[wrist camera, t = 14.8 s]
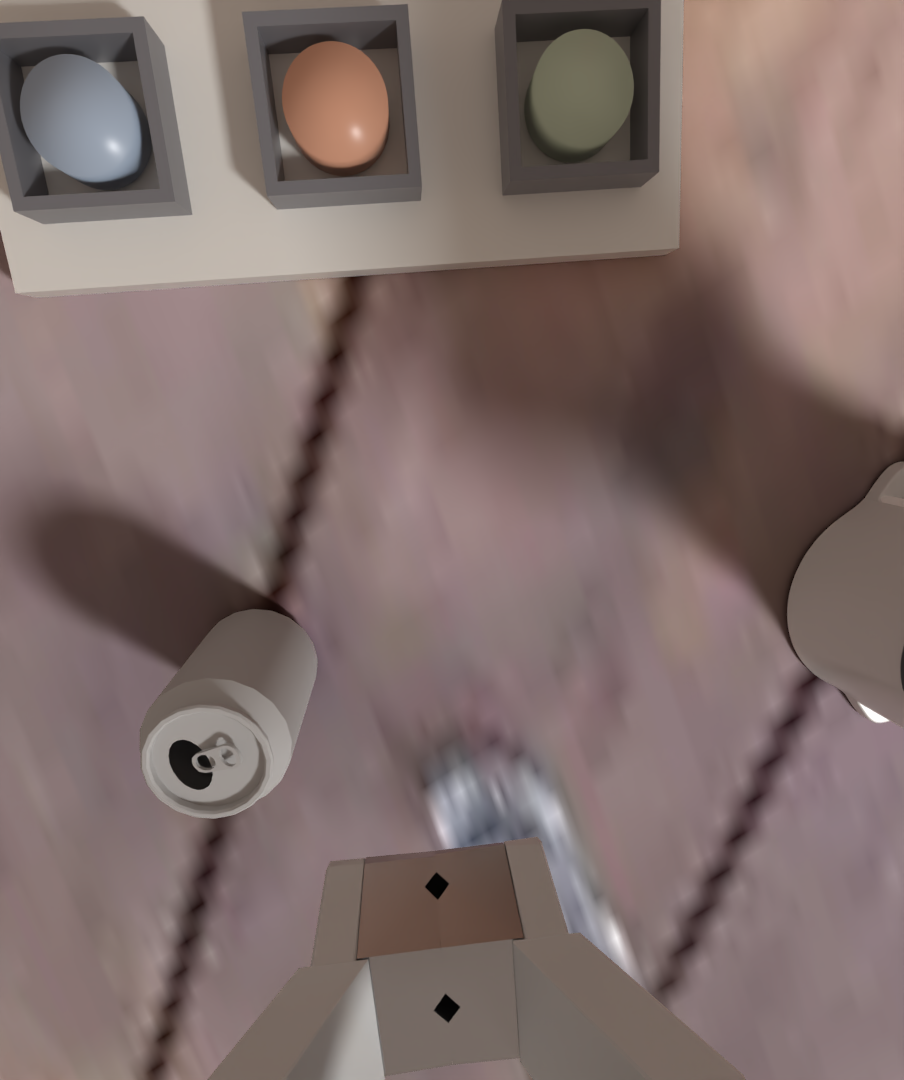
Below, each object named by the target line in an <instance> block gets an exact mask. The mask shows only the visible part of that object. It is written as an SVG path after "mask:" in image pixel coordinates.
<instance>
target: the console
mask: <svg viewBox="0 0 904 1080" xmlns="http://www.w3.org/2000/svg"><path fill="white" fill-rule="evenodd" d="M683 23H684V0H0V231H1V235H2V239H3V243H4V248H5V252H6V256H7V260H8V264H9V268H10V272H11V277H12V281H13V285H14V289H15V293H17V294H22V295H26V296H31V297H35V298H44V297H59V296H74V295H88V294H103V293H118V292H132V291H147V290H162V289H176V288H191V287H206V286H220V285H235V284H250V283H264V282H279V281H294V280H308V279H323V278H338V277H352V276H367V275H382V274H396V273H411V272H426V271H440V270H455V269H470V268H484V267H499V266H514V265H528V264H543V263H558V262H572V261H587V260H602V259H616V258H631V257H646V256H660V255H666V254H668V253H670V252H672V251H674V250H677V249H679V235H680V182H681V129H682V76H683ZM578 29H591V30H596V31H599V32H602V33H604V34H606V35H608V36H609V37H611V38H612V39H613V40H614V41H615V42H616V43H617V44H618V45H619V46H620V47H621V48H622V50H623V51H624V53H625V54H626V56H627V58H628V60H629V63H630V66H631V69H632V73H633V79H634V94H633V100H632V104H631V108H630V111H629V113H628V116H627V118H626V119H625V121H624V123H623V124H622V126H621V127H620V129H619V130H618V131H617V132H616V133H615V134H614V136H613V137H612V138H611V139H610V140H609V142H608V143H607V144H606V145H605V146H604V147H603V148H602V149H601V150H600V151H599V152H598V153H597V154H595V155H594V156H592V157H591V158H588V159H586V160H583V161H580V162H573V163H568V162H561V161H558V160H555V159H553V158H551V157H549V156H547V155H546V154H545V153H543V152H542V151H541V150H540V149H539V148H538V147H537V145H536V144H535V143H534V141H533V140H532V138H531V136H530V134H529V132H528V129H527V126H526V121H525V114H524V103H525V96H526V92H527V89H528V86H529V84H530V81H531V79H532V76H533V74H534V71H535V69H536V67H537V64H538V62H539V60H540V58H541V56H542V54H543V53H544V51H545V50H546V49H547V47H548V46H549V45H550V44H551V43H552V42H553V41H554V40H556V39H557V38H558V37H560V36H561V35H563V34H565V33H567V32H570V31H573V30H578ZM325 41H337V42H343V43H346V44H349V45H351V46H353V47H355V48H357V49H359V50H360V51H362V52H363V53H364V54H365V55H366V56H368V57H369V58H370V60H371V61H372V62H373V63H374V64H375V66H376V67H377V69H378V70H379V72H380V74H381V76H382V78H383V81H384V83H385V87H386V91H387V96H388V107H389V135H388V140H387V143H386V146H385V148H384V150H383V152H382V154H381V155H380V157H379V158H378V159H377V161H376V162H375V163H374V164H373V165H372V166H370V167H369V168H368V169H366V170H365V171H363V172H360V173H358V174H355V175H350V176H337V175H332V174H329V173H326V172H324V171H322V170H320V169H318V168H317V167H315V166H314V165H313V164H311V163H310V162H309V161H308V160H307V159H306V158H305V156H304V155H303V154H302V152H301V151H300V149H299V147H298V146H297V144H296V141H295V139H294V137H293V135H292V133H291V131H290V128H289V126H288V124H287V122H286V119H285V115H284V111H283V106H282V89H283V83H284V79H285V76H286V73H287V71H288V69H289V67H290V65H291V63H292V62H293V60H294V59H295V58H296V57H297V56H298V55H299V54H300V53H301V52H302V51H303V50H305V49H306V48H308V47H310V46H312V45H314V44H317V43H320V42H325ZM60 54H74V55H79V56H83V57H86V58H88V59H90V60H93V61H94V62H96V63H98V64H99V65H101V66H102V67H103V68H105V69H106V70H107V71H108V72H109V73H110V74H111V75H112V76H113V77H114V78H115V79H116V80H117V81H118V82H119V83H120V84H121V85H122V86H123V87H124V88H125V89H126V90H127V91H128V92H129V93H130V94H131V95H132V96H133V97H134V99H135V100H136V101H137V102H138V104H139V105H140V107H141V108H142V110H143V112H144V114H145V116H146V118H147V121H148V124H149V128H150V134H151V153H150V157H149V161H148V163H147V165H146V167H145V169H144V171H143V172H142V174H141V175H140V176H139V177H138V178H137V179H136V180H135V181H134V182H132V183H131V184H129V185H127V186H125V187H123V188H120V189H115V190H100V189H95V188H91V187H89V186H86V185H84V184H82V183H81V182H79V181H77V180H75V179H74V178H72V177H71V176H69V175H67V174H66V173H64V172H62V171H61V170H59V169H57V168H56V167H54V166H53V165H51V164H50V163H49V162H47V161H46V160H45V159H44V158H43V157H42V156H41V155H40V154H39V153H38V152H37V150H36V149H35V148H34V146H33V145H32V143H31V142H30V140H29V138H28V136H27V134H26V132H25V129H24V127H23V123H22V119H21V113H20V96H21V91H22V87H23V84H24V82H25V80H26V78H27V76H28V74H29V73H30V72H31V70H32V69H33V68H34V67H35V66H36V65H37V64H38V63H40V62H41V61H43V60H44V59H47V58H49V57H51V56H55V55H60Z"/></svg>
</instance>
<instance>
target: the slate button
mask: <svg viewBox="0 0 904 1080" xmlns="http://www.w3.org/2000/svg"><path fill="white" fill-rule="evenodd" d="M20 113H21V119H22V123H23V127H24V129H25V132H26V134H27V136H28V138H29V140H30V142H31V143H32V145H33V146H34V148H35V149H36V150H37V152H38V153H39V154H40V155H41V156H42V157H43V158H44V159H45V160H46V161H47V162H49V163H50V164H51V165H53V166H54V167H56V168H57V169H59V170H61V171H62V172H64V173H66V174H67V175H69V176H71V177H72V178H74V179H75V180H77V181H79V182H81V183H82V184H84V185H86V186H89V187H91V188H95V189H100V190H115V189H120V188H123V187H125V186H127V185H129V184H131V183H132V182H134V181H135V180H136V179H137V178H138V177H139V176H140V175H141V174H142V172H143V171H144V169H145V167H146V165H147V163H148V161H149V157H150V153H151V134H150V128H149V124H148V121H147V118H146V116H145V114H144V112H143V110H142V108H141V107H140V105H139V104H138V102H137V101H136V100H135V99H134V97H133V96H132V95H131V94H130V93H129V92H128V91H127V90H126V89H125V88H124V87H123V86H122V85H121V84H120V83H119V82H118V81H117V80H116V79H115V78H114V77H113V76H112V75H111V74H110V73H109V72H108V71H107V70H106V69H105V68H103V67H102V66H101V65H99V64H98V63H96V62H94V61H93V60H90V59H88V58H86V57H83V56H79V55H74V54H60V55H55V56H51V57H49V58H47V59H44V60H43V61H41V62H40V63H38V64H37V65H36V66H35V67H34V68H33V69H32V70H31V72H30V73H29V74H28V76H27V78H26V80H25V82H24V84H23V87H22V91H21V96H20Z"/></svg>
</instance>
